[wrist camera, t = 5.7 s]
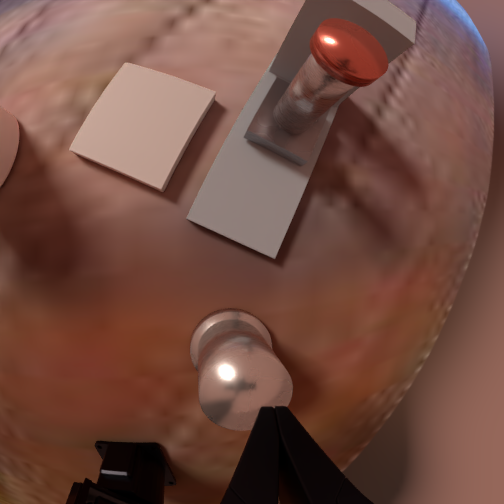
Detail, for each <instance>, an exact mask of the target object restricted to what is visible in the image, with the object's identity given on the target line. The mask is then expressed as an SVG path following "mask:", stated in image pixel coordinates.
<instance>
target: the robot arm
mask: <svg viewBox="0 0 504 504" xmlns="http://www.w3.org/2000/svg"><path fill="white" fill-rule="evenodd" d="M99 445H100V446H99ZM95 447H96V449H97V451H98V453H99V454H100V456H101V458H102V459H103V461H102V464H101V467H100V474H99V478H98V481H97V484H95V483H93V482H92V481H91V480H89V479H87V478H85V480H84V482H83V483H77V482H74V483H73V486H72V488H71V491H70V494H69V496H68V499H67V502H66V504H164V486H173V485H176V479H175V477H174V475H173V474H172V472H171V469H170V467H169V465H168V463H167V461H166V459H165V457H164V455H163V453H162V450H161V448H160V446H159V445H158V444H157V443H128V442H107V441H96V443H95ZM153 447H155V448H153ZM278 496H279V500H280V504H374V503H373V502H371V501H370V500H369V499H367V497H365V496H364V495H363V494H362V493H361V492H360V491H359V490H358V489H357V488H356V487H355V486H354V485H353V484H352V483H351V482H350V481H349V480H348V479H347V478H345V475H344V474H343V473H342V472H341V471H340V470H339V469H338V467H337V466H336V465H335V464H334V463H333V462H332V461H331V459H330V458H329V457H328V456H327V455H326V454H325V452H324V451H323V450H322V449H321V448H320V447H319V445H318V444H317V443H316V442H315V441H314V439H313V438H312V437H311V436H310V435H309V433H308V432H307V431H306V430H305V428H304V427H303V426H302V425H301V424H300V422H299V421H298V420H297V419H296V417H295V416H294V415H293V413H292V412H291V411H290V410H289V408H288V407H286V406H275V407H274V408H273V407H272V406H262V407H260V410H259V412H258V415H257V418H256V420H255V423H254V426H253V428H252V431H251V433H250V436H249V438H248V441H247V443H246V446H245V448H244V451H243V453H242V456H241V458H240V461H239V463H238V465H237V468H236V470H235V472H234V475H233V477H232V479H231V482H230V484H229V488H227V490H226V492H225V495H224V497H223V499H222V501H221V503H220V504H278Z"/></svg>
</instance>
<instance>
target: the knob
mask: <svg viewBox="0 0 504 504" xmlns="http://www.w3.org/2000/svg"><path fill="white" fill-rule="evenodd" d="M190 354H191V359H192V362H193V364H194V366H195V368H196V369H197V371H198V385H199V401H200V405H201V408H202V410H203V412H204V413H205V415H206V416H207V417H208V418H209V419H210V420H211V421H213V422H214V423H215V424H217V425H219V426H221V427H224V428H227V429H232V430H252V428H253V426H254V423H255V420H256V418H257V415H258V412H259V410H260V407H262V406H272V407H273V408H274V407H275V406H286V407H287V406H288V405H289V403H290V401H291V398H292V393H293V384H292V380H291V377H290V375H289V373H288V371H287V370H286V369H285V367H284V366H283V364H282V363H281V362H280V360H279V359H278V357H277V356H276V354H275V353H274V352H273V350H272V341H271V337H270V334H269V332H268V330H267V329H266V327H265V326H264V325H263V323H262V322H261V321H260V320H259V319H258V318H257V317H256V316H254V315H253V314H251V313H249V312H247V311H244V310H241V309H234V308H228V309H221V310H218V311H215V312H213V313H210V314H209V315H207V316H206V317H204V318H203V319H202V320H201V321H200V322H199V323H198V325H197V326H196V328H195V329H194V331H193V334H192V337H191V345H190Z"/></svg>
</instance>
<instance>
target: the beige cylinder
mask: <svg viewBox="0 0 504 504" xmlns="http://www.w3.org/2000/svg"><path fill="white" fill-rule="evenodd" d="M18 144H19V125H18V122H17V120H16V118H15V117H14V115H12V114H11V113H10V112H8V111H7V110H5V109H4V108H3V107H1V106H0V187H1V185H2V184H3V182H4V181H5V179H6V178H7V176H8V174H9V172H10V170H11V168H12V165H13V163H14V160H15V157H16V153H17V149H18Z"/></svg>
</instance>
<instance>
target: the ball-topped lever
mask: <svg viewBox="0 0 504 504" xmlns="http://www.w3.org/2000/svg"><path fill="white" fill-rule="evenodd" d="M310 50H311V54H310V56H309V57H308V58H307V60H306V61H305V63H304V64H303V66H302V67H301V69H300V70H299V72H298V73H297V74H296V76H295V77H294V79H293V80H292V82H291V83H288V82H286V81H284V80H282V79H280V78H278V77H276V79H275V81H274V83H273V84H272V86H271V88H270V89H269V91H268V93H267V95H266V96H265V98H264V100H263V102H262V103H261V105H260V107H259V109H258V111H257V112H256V114H255V116H254V118H253V120H252V122H251V123H250V125H249V127H248V129H247V131H246V133H245V135H244V137H243V138H245V139H247V140H249V141H251V142H254V143H256V144H258V145H260V146H262V147H264V148H266V149H268V150H270V151H272V152H274V153H275V154H277V155H279V156H281V157H283V158H285V159H287V160H289V161H291V162H293V163H294V164H296V165H298V166H300V167H301V166H302V165H304V164H305V163H307V162H308V161H309V158H310V156H311V154H312V151H313V149H314V147H315V144H316V142H317V140H318V137H319V135H320V132H321V130H322V128H323V125H324V123H325V120H326V118H327V116H328V113H329V111H330V108H331V107H332V106H333V105H334V104H335V103H336V102H337V101H338V100H339V99H341V98H342V97H343V96H344V95H345V94H346V93H347V92H349V91H350V90H351V89H352V88H353V87H354V86H356V87H365V86H368V85H370V84H372V83H373V82H374V81H375V80H377V79H378V78H379V77H381V76H382V75H383V74H384V73H385V72H386V71H387V69H388V58H387V55H386V53H385V51H384V49H383V47H382V46H381V44H380V43H379V42H378V41H377V40H376V38H375V37H374V36H372V35H371V34H370V33H369V32H368V31H367V30H365V29H364V28H362V27H361V26H359V25H357V24H355V23H353V22H350V21H347V20H344V19H339V18H330V19H326V20H324V21H323V22H322V23H321V24H320V25H319V27H318V28H317V30H316V31H315V33H314V34H313V36H312V37H311V39H310Z"/></svg>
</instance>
